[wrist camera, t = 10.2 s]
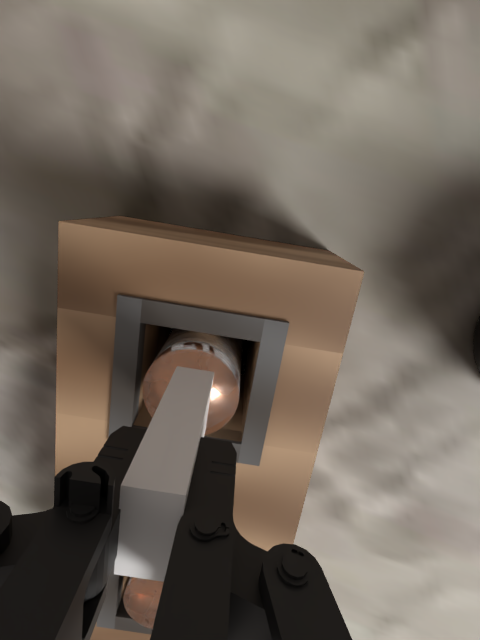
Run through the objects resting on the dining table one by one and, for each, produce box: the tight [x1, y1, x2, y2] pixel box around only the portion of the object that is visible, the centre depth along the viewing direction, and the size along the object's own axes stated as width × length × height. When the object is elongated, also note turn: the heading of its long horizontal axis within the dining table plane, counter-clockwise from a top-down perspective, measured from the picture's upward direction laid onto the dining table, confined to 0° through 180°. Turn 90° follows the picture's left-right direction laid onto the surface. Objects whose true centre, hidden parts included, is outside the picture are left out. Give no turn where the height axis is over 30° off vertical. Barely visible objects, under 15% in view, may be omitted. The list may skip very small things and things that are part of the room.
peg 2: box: [142, 328, 243, 435], centre depth 19 cm, size 4×4×7 cm
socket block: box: [55, 216, 364, 640], centre depth 21 cm, size 24×12×7 cm, turn 171°
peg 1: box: [123, 577, 164, 629], centre depth 22 cm, size 4×4×7 cm
